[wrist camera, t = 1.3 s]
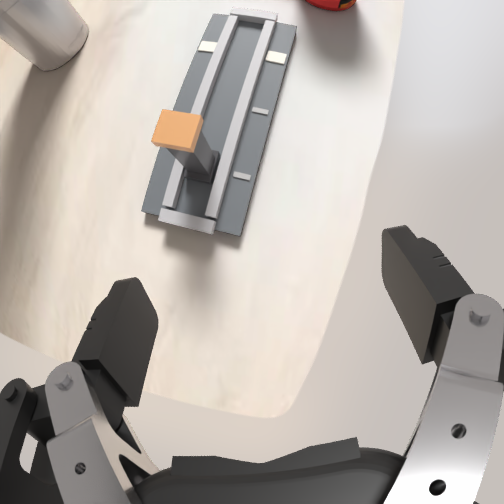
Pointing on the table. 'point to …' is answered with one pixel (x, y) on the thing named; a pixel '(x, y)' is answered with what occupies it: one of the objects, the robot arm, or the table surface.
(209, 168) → the fader tab
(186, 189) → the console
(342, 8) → the canned food
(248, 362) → the table surface
